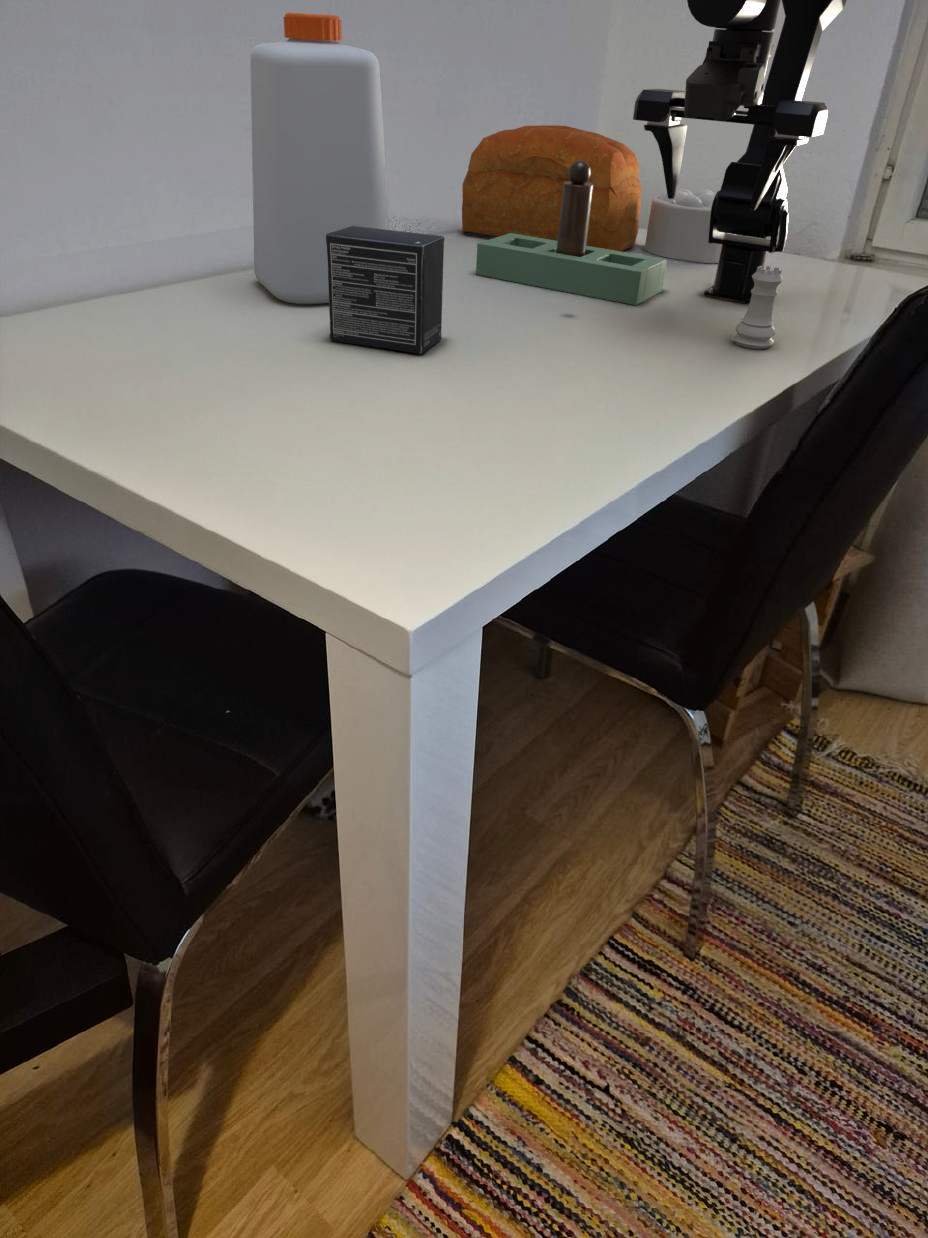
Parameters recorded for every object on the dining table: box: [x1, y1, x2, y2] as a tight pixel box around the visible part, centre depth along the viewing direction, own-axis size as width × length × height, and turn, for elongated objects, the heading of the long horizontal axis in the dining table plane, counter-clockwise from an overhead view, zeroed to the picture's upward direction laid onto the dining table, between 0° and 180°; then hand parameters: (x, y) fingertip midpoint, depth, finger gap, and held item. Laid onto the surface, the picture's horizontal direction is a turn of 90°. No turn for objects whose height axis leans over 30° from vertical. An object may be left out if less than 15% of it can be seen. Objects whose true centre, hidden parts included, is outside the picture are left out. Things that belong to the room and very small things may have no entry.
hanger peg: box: [556, 160, 593, 257], centre depth 112 cm, size 4×4×15 cm
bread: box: [461, 124, 642, 252], centre depth 135 cm, size 16×27×16 cm, turn 62°
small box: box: [326, 226, 445, 355], centre depth 89 cm, size 11×6×10 cm, turn 71°
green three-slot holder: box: [475, 233, 668, 306], centre depth 115 cm, size 9×23×4 cm, turn 59°
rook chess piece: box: [732, 265, 784, 350], centre depth 95 cm, size 4×4×8 cm
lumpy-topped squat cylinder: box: [644, 187, 736, 264], centre depth 133 cm, size 10×13×9 cm
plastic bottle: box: [250, 12, 391, 305], centre depth 100 cm, size 15×15×28 cm
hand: (711, 203), depth 95 cm, fingers open, 9 cm apart
